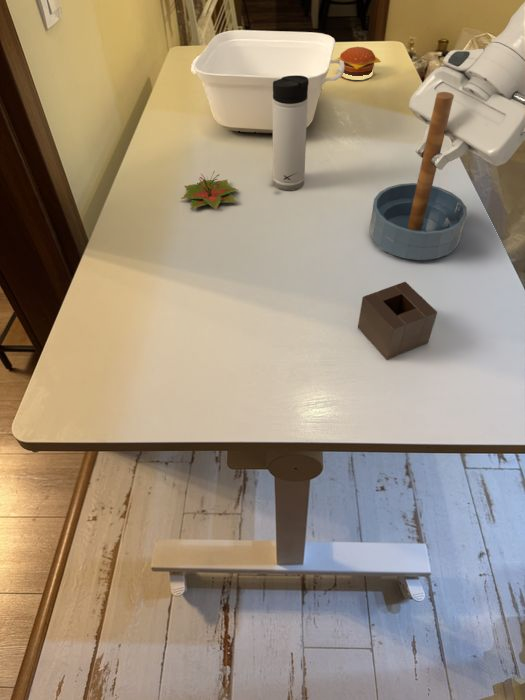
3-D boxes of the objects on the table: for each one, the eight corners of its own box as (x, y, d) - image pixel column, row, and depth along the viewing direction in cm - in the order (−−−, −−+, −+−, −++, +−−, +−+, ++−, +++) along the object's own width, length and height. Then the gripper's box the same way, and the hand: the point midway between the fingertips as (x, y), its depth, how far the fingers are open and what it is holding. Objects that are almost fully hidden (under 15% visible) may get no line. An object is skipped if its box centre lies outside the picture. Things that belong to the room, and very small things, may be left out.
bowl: (440, 209, 96) (448, 180, 92) (470, 259, 86) (481, 229, 82) (360, 216, 96) (364, 186, 91) (381, 267, 85) (387, 236, 81)
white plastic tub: (343, 98, 131) (349, 33, 120) (334, 151, 112) (340, 80, 102) (213, 92, 136) (207, 28, 125) (183, 142, 117) (173, 72, 106)
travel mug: (291, 195, 101) (294, 87, 86) (266, 183, 104) (264, 78, 89) (311, 182, 104) (317, 76, 89) (286, 171, 107) (288, 67, 92)
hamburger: (355, 66, 146) (358, 40, 141) (380, 76, 141) (384, 49, 136) (330, 74, 142) (333, 47, 138) (355, 85, 137) (358, 57, 132)
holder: (398, 311, 78) (405, 281, 74) (428, 342, 74) (437, 312, 69) (357, 327, 76) (362, 296, 72) (386, 360, 72) (393, 329, 67)
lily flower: (175, 186, 104) (172, 164, 101) (233, 177, 106) (232, 156, 103) (184, 218, 96) (180, 196, 93) (247, 208, 98) (245, 186, 95)
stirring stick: (419, 222, 90) (450, 91, 74) (423, 230, 89) (456, 97, 72) (405, 224, 90) (434, 92, 74) (410, 231, 88) (439, 99, 72)
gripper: (556, 121, 71) (480, 202, 76) (458, 73, 84) (398, 144, 89) (544, 94, 67) (464, 181, 71) (442, 47, 80) (380, 124, 84)
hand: (427, 160), depth 80 cm, fingers closed on stirring stick, 2 cm apart
